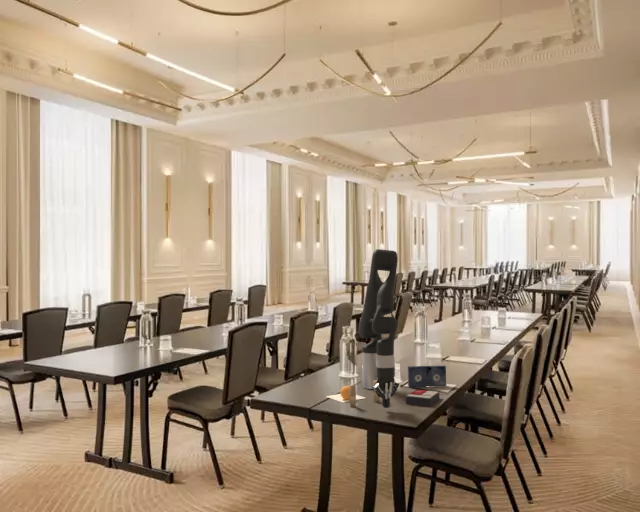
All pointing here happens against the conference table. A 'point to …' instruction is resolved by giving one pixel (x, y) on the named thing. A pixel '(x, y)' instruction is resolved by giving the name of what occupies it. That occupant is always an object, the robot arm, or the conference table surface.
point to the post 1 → (352, 395)
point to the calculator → (422, 398)
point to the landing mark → (340, 399)
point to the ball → (345, 392)
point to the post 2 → (376, 398)
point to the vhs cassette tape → (426, 376)
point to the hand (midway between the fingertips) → (386, 407)
